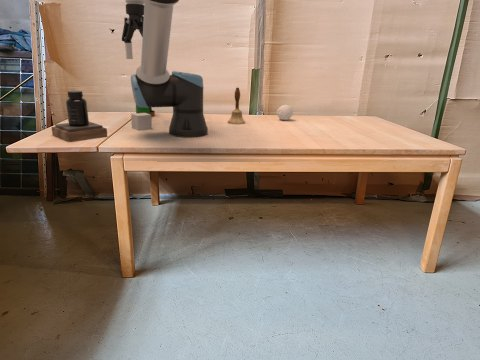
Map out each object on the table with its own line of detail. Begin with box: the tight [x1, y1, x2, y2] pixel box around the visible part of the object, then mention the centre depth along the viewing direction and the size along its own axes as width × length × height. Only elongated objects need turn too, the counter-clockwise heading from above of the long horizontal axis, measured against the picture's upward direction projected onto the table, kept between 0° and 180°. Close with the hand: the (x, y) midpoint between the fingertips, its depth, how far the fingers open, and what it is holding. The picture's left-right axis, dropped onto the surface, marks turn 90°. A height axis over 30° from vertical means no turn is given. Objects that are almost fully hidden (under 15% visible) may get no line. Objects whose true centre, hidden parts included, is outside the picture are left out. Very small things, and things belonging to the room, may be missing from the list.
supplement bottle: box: [65, 90, 90, 127], centre depth 133 cm, size 7×7×12 cm
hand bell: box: [227, 87, 246, 125], centre depth 170 cm, size 8×8×16 cm
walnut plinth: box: [51, 121, 108, 143], centre depth 135 cm, size 14×14×4 cm
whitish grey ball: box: [276, 104, 294, 121], centre depth 182 cm, size 8×8×8 cm
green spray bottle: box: [135, 104, 156, 118], centre depth 179 cm, size 10×9×20 cm
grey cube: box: [130, 112, 153, 131], centre depth 151 cm, size 6×6×6 cm
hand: (138, 59), depth 155 cm, fingers open, 13 cm apart
